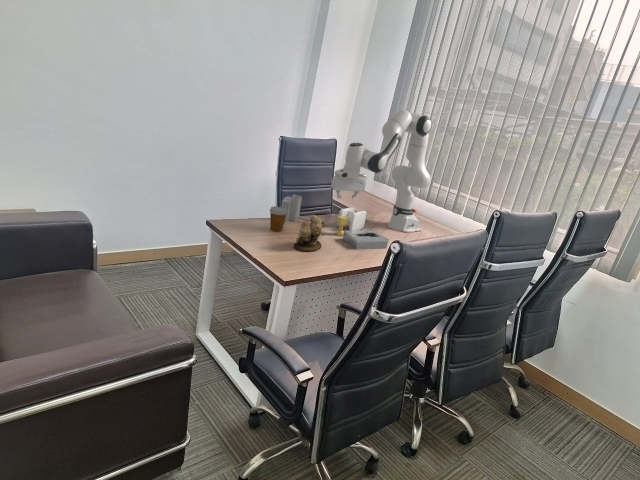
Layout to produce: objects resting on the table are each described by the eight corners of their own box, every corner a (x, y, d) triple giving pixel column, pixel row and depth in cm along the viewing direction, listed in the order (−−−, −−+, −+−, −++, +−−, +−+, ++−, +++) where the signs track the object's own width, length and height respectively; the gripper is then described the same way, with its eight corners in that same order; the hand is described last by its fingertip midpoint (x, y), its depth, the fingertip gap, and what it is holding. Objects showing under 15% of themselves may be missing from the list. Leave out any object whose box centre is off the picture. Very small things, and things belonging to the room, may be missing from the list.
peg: (340, 233, 232) (344, 216, 228) (344, 236, 228) (348, 218, 225) (334, 233, 230) (337, 216, 226) (337, 236, 226) (341, 218, 223)
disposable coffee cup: (288, 230, 222) (290, 209, 218) (279, 234, 214) (282, 212, 210) (273, 225, 226) (275, 205, 221) (264, 229, 217) (266, 208, 213)
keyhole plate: (372, 238, 232) (374, 230, 230) (386, 248, 220) (388, 239, 219) (342, 239, 222) (344, 230, 221) (355, 249, 211) (357, 240, 209)
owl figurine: (308, 239, 214) (313, 208, 208) (326, 246, 209) (332, 215, 203) (287, 246, 199) (293, 214, 194) (307, 255, 194) (313, 221, 188)
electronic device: (283, 215, 246) (286, 191, 241) (324, 223, 244) (328, 199, 239) (278, 220, 235) (281, 195, 230) (321, 229, 232) (325, 204, 227)
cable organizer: (350, 233, 235) (354, 214, 231) (335, 227, 240) (339, 209, 236) (363, 229, 246) (367, 211, 242) (349, 223, 252) (353, 206, 248)
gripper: (363, 173, 225) (359, 197, 229) (332, 170, 215) (327, 196, 219) (370, 176, 219) (365, 200, 224) (337, 173, 210) (333, 199, 214)
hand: (346, 198), depth 222 cm, fingers open, 8 cm apart
